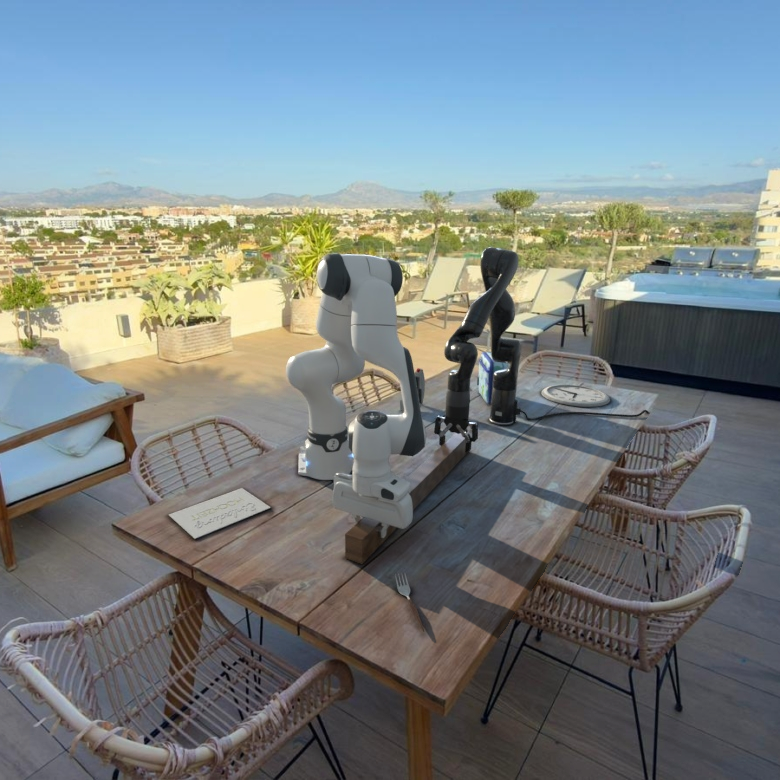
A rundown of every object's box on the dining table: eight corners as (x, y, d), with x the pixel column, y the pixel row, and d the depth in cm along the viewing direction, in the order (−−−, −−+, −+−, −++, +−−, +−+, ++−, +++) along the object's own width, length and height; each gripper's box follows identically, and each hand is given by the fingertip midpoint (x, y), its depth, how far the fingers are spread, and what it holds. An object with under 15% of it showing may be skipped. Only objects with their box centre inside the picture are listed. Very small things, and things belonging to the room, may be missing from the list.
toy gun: (399, 376, 211) (420, 366, 222) (400, 413, 216) (420, 401, 228) (404, 377, 209) (424, 367, 220) (404, 414, 215) (424, 403, 226)
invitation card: (241, 487, 151) (270, 507, 140) (241, 488, 151) (270, 508, 141) (168, 514, 136) (194, 538, 126) (168, 515, 136) (194, 539, 126)
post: (456, 448, 181) (457, 431, 179) (468, 451, 179) (469, 434, 177) (345, 558, 120) (344, 533, 118) (362, 564, 118) (362, 539, 116)
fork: (417, 635, 98) (417, 626, 97) (393, 581, 112) (394, 573, 112) (430, 632, 98) (430, 623, 98) (405, 579, 113) (405, 571, 112)
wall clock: (623, 402, 226) (556, 403, 224) (623, 406, 227) (556, 407, 224) (592, 383, 255) (532, 383, 252) (591, 386, 255) (532, 386, 253)
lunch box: (475, 390, 246) (478, 346, 240) (498, 390, 246) (501, 347, 240) (484, 408, 221) (487, 360, 215) (509, 409, 221) (513, 360, 215)
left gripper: (326, 476, 123) (327, 527, 127) (404, 497, 114) (403, 551, 118) (341, 465, 128) (341, 515, 132) (416, 485, 119) (414, 537, 123)
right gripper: (432, 402, 167) (430, 449, 172) (475, 409, 161) (471, 457, 165) (441, 396, 173) (439, 441, 178) (482, 402, 167) (479, 449, 172)
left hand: (371, 532), depth 125 cm, fingers closed on post, 4 cm apart
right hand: (454, 449), depth 172 cm, fingers open, 8 cm apart
